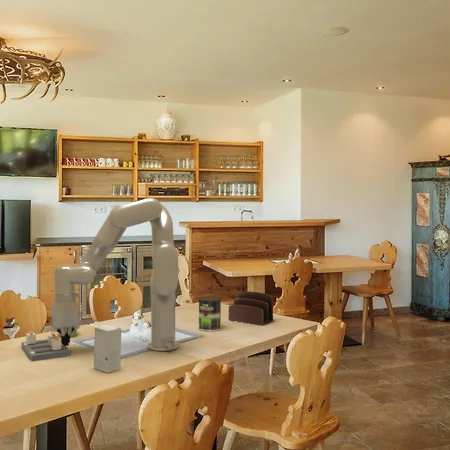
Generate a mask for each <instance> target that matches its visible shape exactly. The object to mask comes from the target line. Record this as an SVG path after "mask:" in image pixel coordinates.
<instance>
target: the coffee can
mask: <svg viewBox="0 0 450 450" xmlns="http://www.w3.org/2000/svg"><path fill="white" fill-rule="evenodd" d="M221 322H222V298H221V297H218V296H202V297H198V330H199V331H201V332H217V331H220V330H221V329H222V327H221V326H222V323H221Z"/></svg>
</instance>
